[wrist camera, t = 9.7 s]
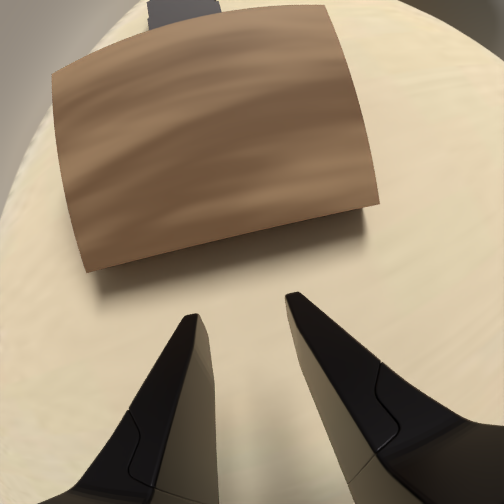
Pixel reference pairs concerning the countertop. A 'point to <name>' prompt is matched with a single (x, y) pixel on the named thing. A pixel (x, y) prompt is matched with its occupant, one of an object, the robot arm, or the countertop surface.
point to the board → (209, 133)
